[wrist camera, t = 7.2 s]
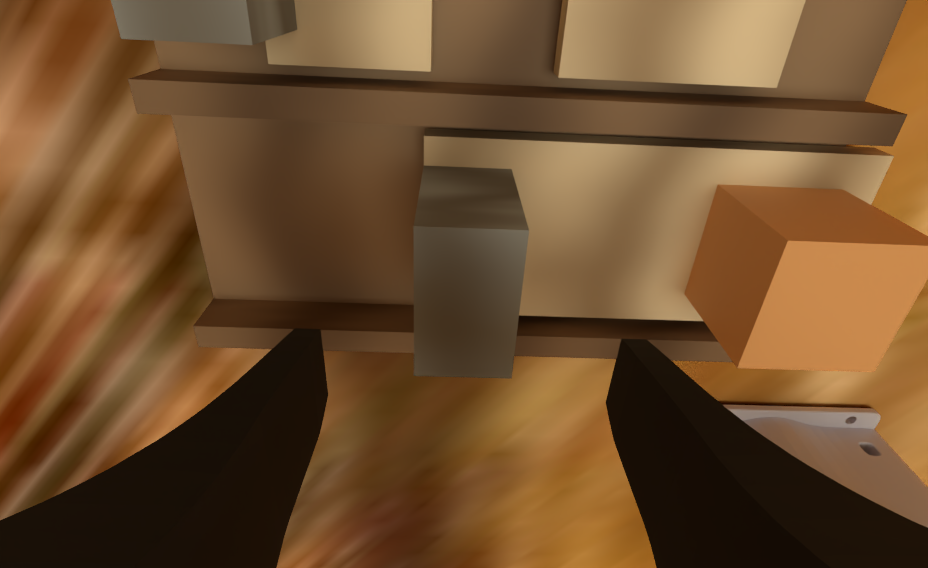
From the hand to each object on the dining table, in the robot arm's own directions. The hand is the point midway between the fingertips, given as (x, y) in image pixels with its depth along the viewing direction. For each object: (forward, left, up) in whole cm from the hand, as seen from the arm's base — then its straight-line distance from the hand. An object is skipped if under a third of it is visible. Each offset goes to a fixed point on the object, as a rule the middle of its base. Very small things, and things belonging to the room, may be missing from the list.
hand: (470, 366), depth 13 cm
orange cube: (-11, 0, -8) cm, 13 cm away
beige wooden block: (-6, 0, -9) cm, 11 cm away
